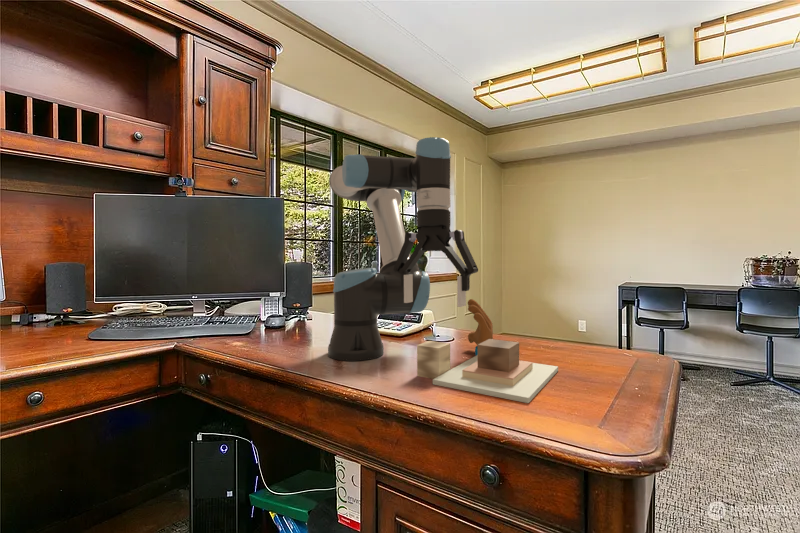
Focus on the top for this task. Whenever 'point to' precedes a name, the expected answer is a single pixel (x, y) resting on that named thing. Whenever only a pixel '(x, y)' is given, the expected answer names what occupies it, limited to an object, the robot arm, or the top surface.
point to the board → (499, 379)
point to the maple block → (433, 359)
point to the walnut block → (498, 355)
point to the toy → (480, 325)
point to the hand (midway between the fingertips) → (433, 304)
